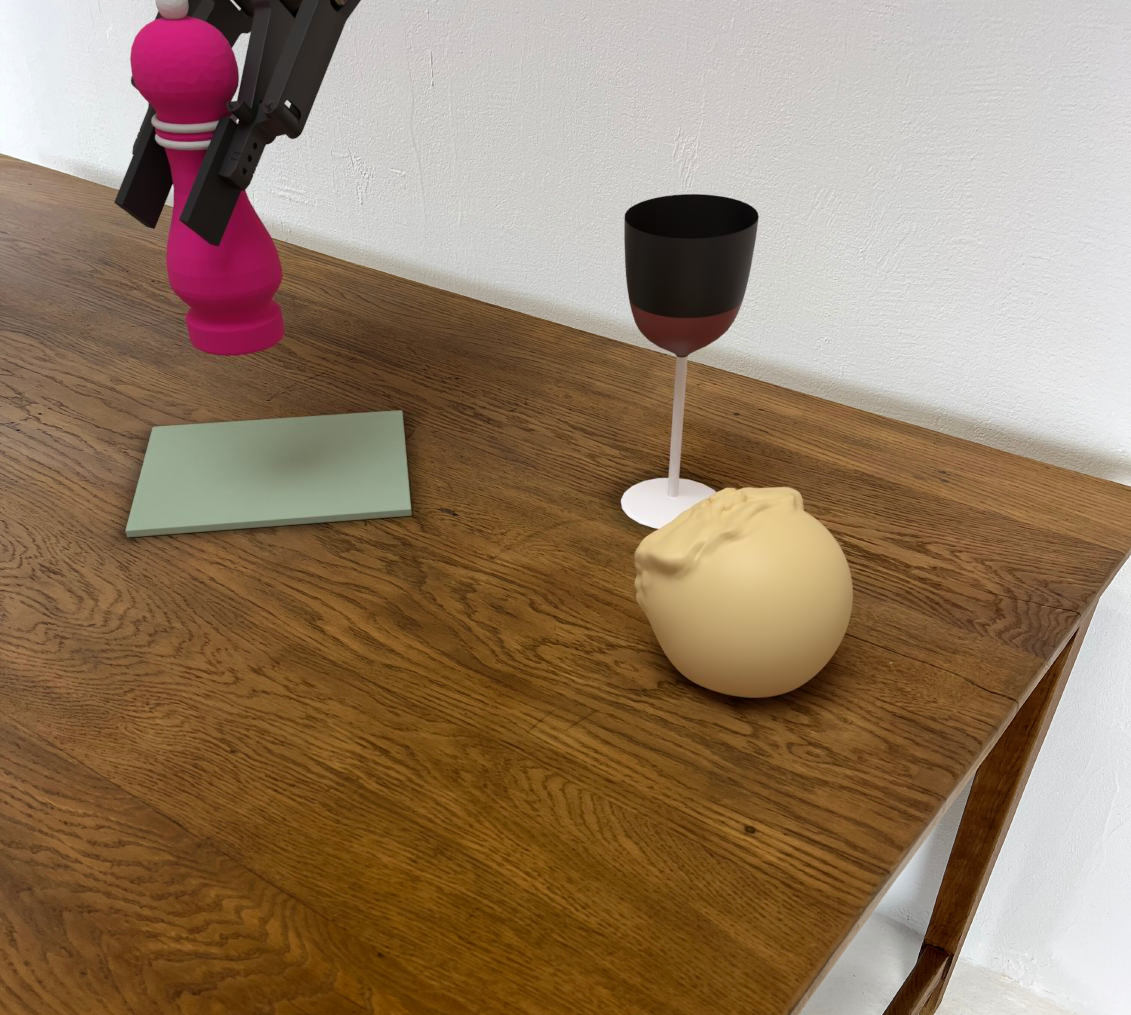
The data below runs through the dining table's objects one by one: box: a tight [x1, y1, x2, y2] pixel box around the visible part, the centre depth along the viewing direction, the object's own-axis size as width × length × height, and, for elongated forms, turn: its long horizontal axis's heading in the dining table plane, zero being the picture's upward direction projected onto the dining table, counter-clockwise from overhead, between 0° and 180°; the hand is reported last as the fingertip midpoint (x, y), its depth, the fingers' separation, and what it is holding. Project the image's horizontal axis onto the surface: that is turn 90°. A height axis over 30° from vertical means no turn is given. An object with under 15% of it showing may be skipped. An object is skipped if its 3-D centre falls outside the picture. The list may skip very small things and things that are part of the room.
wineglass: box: [620, 193, 760, 530], centre depth 77 cm, size 8×9×20 cm
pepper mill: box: [129, 0, 286, 357], centre depth 70 cm, size 7×7×20 cm
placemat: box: [124, 409, 413, 538], centre depth 87 cm, size 20×16×1 cm
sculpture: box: [633, 486, 854, 699], centre depth 66 cm, size 11×12×11 cm
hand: (166, 223), depth 69 cm, fingers closed on pepper mill, 5 cm apart
